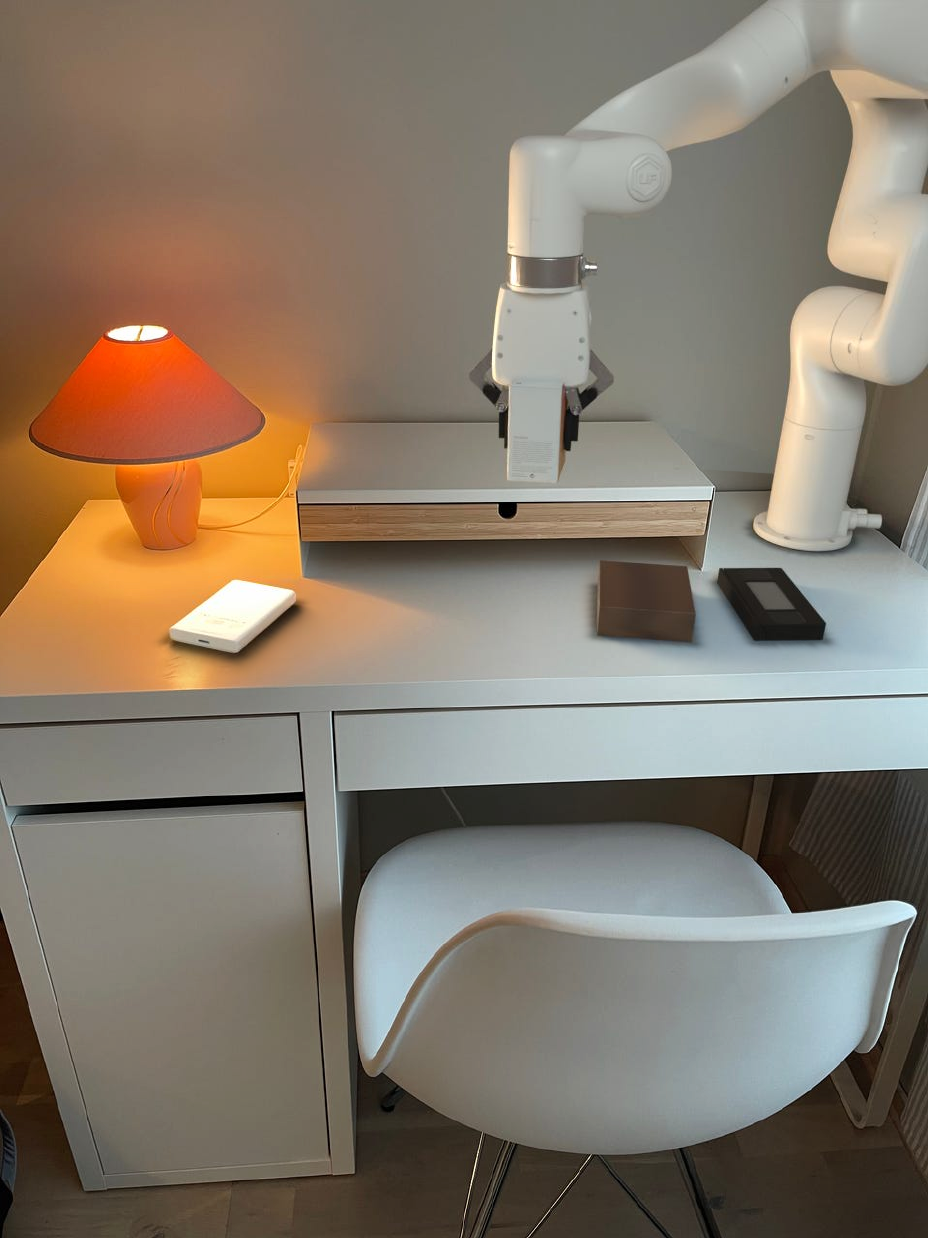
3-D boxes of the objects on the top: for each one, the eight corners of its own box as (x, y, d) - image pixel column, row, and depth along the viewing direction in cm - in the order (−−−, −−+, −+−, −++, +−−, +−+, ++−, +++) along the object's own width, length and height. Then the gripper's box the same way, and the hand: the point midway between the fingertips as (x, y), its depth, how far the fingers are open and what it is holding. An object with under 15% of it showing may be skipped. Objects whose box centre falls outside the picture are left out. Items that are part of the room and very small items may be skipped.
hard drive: (296, 603, 112) (238, 654, 101) (233, 591, 114) (169, 640, 104) (296, 590, 111) (236, 640, 100) (232, 578, 113) (168, 626, 103)
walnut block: (683, 593, 116) (687, 566, 114) (691, 642, 105) (695, 613, 104) (597, 587, 117) (600, 560, 115) (596, 635, 106) (599, 606, 105)
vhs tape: (778, 582, 119) (781, 567, 118) (823, 640, 106) (827, 624, 105) (717, 583, 118) (719, 568, 117) (754, 641, 106) (757, 624, 105)
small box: (557, 485, 105) (562, 387, 100) (505, 481, 106) (508, 384, 101) (566, 461, 112) (571, 368, 107) (517, 457, 113) (520, 365, 108)
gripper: (630, 268, 102) (617, 438, 110) (464, 264, 103) (464, 432, 112) (632, 280, 95) (618, 460, 104) (454, 276, 97) (454, 453, 105)
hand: (538, 444), depth 108 cm, fingers closed on small box, 5 cm apart
